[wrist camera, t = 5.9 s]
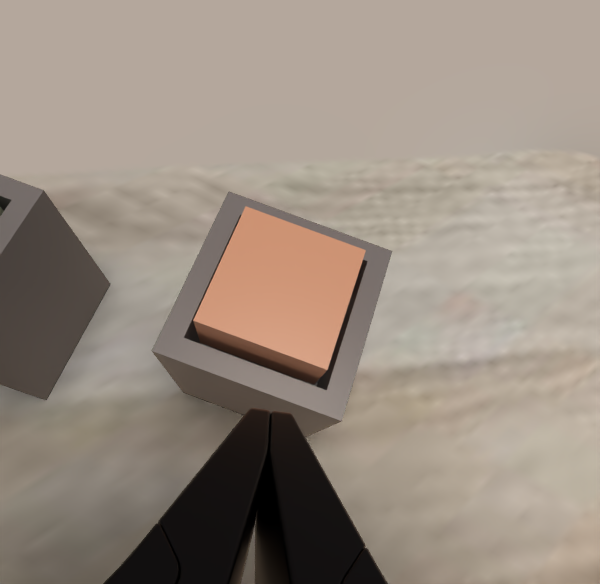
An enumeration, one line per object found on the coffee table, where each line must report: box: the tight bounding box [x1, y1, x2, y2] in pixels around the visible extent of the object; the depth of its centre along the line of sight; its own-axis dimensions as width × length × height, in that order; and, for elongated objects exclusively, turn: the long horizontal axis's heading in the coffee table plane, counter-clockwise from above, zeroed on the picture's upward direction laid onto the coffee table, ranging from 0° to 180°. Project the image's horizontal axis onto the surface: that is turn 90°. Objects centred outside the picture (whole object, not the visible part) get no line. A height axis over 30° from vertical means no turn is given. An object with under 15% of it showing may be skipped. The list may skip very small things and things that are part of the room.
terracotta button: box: [193, 207, 366, 384], centre depth 15 cm, size 4×4×2 cm
